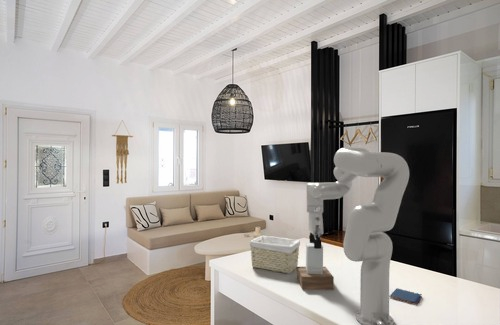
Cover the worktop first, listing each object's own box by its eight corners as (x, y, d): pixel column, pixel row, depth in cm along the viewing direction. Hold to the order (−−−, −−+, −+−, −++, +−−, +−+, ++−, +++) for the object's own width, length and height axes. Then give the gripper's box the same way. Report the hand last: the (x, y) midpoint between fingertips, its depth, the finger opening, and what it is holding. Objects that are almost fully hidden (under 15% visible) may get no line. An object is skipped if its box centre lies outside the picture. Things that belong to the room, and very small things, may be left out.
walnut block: (333, 290, 136) (333, 277, 136) (302, 290, 136) (302, 277, 136) (325, 278, 150) (325, 266, 150) (296, 278, 150) (297, 266, 150)
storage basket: (301, 266, 168) (301, 239, 168) (290, 275, 153) (291, 246, 153) (261, 260, 179) (261, 234, 179) (248, 268, 164) (248, 240, 164)
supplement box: (323, 274, 139) (323, 246, 139) (306, 273, 140) (306, 246, 140) (321, 269, 147) (321, 242, 147) (305, 268, 147) (305, 242, 147)
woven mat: (395, 291, 136) (395, 287, 136) (422, 298, 129) (422, 293, 129) (388, 299, 128) (388, 294, 128) (416, 307, 121) (416, 301, 121)
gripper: (327, 211, 135) (328, 250, 134) (318, 206, 152) (319, 241, 152) (310, 211, 135) (311, 250, 134) (303, 207, 152) (303, 241, 151)
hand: (315, 245), depth 143 cm, fingers open, 9 cm apart
